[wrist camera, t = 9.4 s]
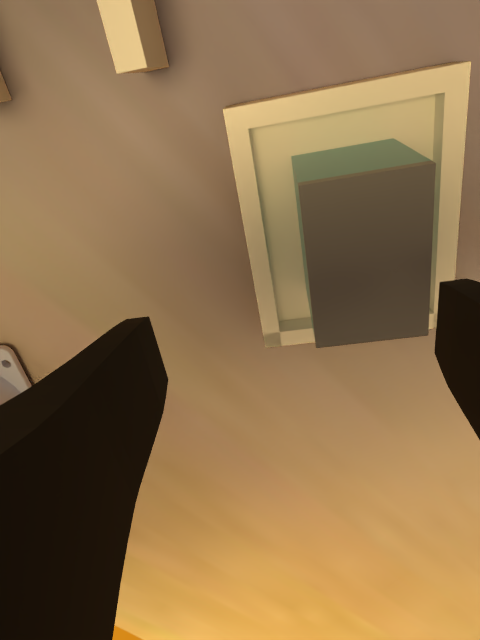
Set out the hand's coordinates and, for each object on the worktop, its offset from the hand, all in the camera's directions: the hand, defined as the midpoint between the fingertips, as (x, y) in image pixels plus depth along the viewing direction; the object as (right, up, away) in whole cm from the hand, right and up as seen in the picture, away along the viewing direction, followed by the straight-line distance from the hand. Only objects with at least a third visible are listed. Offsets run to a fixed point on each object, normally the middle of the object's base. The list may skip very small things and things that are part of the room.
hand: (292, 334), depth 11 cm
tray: (+3, +5, +8) cm, 10 cm away
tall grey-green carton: (+3, +5, +8) cm, 10 cm away
